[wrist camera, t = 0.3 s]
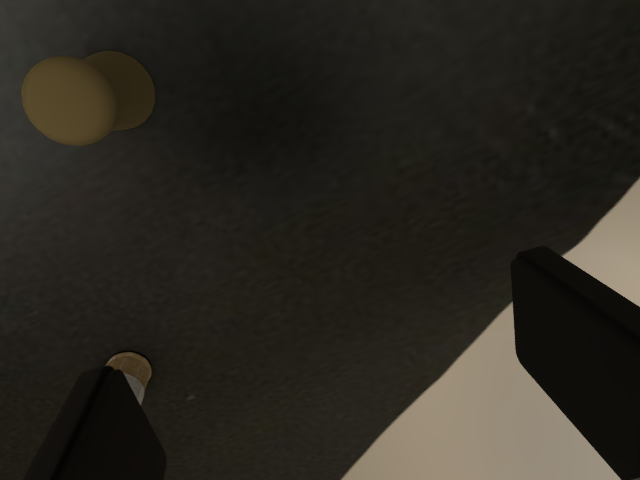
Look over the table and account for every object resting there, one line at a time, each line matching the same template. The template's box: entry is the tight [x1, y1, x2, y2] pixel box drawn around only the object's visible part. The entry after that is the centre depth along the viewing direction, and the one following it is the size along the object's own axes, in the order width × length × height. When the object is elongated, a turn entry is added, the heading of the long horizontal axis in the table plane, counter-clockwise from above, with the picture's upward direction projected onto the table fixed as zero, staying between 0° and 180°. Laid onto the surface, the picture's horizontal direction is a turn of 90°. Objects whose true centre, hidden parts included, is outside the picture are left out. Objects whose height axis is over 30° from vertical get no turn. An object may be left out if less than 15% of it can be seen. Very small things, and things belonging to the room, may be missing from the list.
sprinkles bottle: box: [106, 352, 151, 405], centre depth 39 cm, size 5×5×14 cm
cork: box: [21, 51, 155, 146], centre depth 30 cm, size 6×6×11 cm
